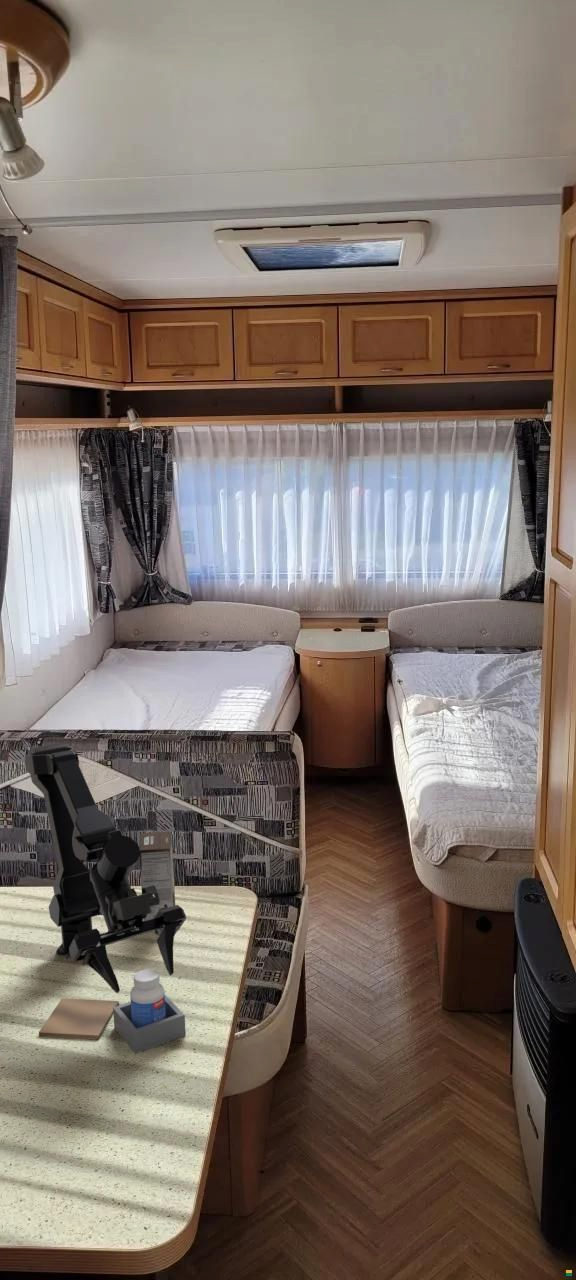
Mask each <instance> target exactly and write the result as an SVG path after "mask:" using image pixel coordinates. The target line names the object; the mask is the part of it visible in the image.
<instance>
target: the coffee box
mask: <svg viewBox="0 0 576 1280" xmlns="http://www.w3.org/2000/svg"><path fill="white" fill-rule="evenodd" d="M138 843H139V844H138V846H139V849H140V855H139V869H140V882H141V883H140V884H141V889H142V888H145V887H149V886H152V885H155V887H156V890H157V892H158V895H159V899H160V903H159V904H158V905H154V906H151V913H149V914H147V916H146V918H144V919H143V922H144V921H147V920H151V919H154V918H155V916H156V914H157V913H158V911H159V910H161V909H165V908H168V907H171V906H175V905H176V894H175V893H176V891H175V875H174V874H175V873H174V857H173V843H172V831H163V832H161V831H151V832H142V833H139V842H138Z"/></svg>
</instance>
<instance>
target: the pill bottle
mask: <svg viewBox="0 0 576 1280" xmlns="http://www.w3.org/2000/svg"><path fill="white" fill-rule="evenodd" d="M164 988H165V987H164V986H163V985H162V983H161V982H160V974H159V971H158V970H156V969H152V968H145V969H140V970H138V971H136V972H135V973H134V975H133V987H132V988H131V989H130V994H129V995H130V1002H131V1015H132V1024H133V1025H134V1026H135V1027H136V1029H138V1028H140V1027H143V1026H146V1025H149V1024H152V1023H154V1022H157V1021H160V1020H163V1019H166V1012H165V995H166V994H165V989H164ZM164 994H165V995H164Z"/></svg>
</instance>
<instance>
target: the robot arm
mask: <svg viewBox="0 0 576 1280" xmlns="http://www.w3.org/2000/svg"><path fill="white" fill-rule="evenodd" d="M24 764H25V769H26V771H27V773H28V774H29V775H30V779H31V782H32V784H33V785H34V786H35V787H36V788H37V789H38V790H39V791H40V792H41V793H42V794H43V799H44V803H45V809H46V812H47V819H48V824H49V829H50V832H51V837H52V842H53V847H54V853H55V858H56V862H57V868H58V872H57V874H56V876H55V880H54V883H53V885H52V886H53V887H52V888H53V893H54V895H53V896H52V898H51V901H50V902H49V905H48V910H49V911H48V912H49V917H50V919H51V920H52V922H53V923H54V924H55V925H56V926H57V927H58V928H60V930H61V931H60V932H61V944H60V945H59V947H58V948H57V949H56V951H55V953H56V954H55V955H63V954H64V955H65V954H67V956H70V958H71V962H72V963H73V964H75V963H79V962H80V963H81V965H82V966H86V965H87V966H88V967H90V968H91V969H92V970H94V972H96V973H97V974H98V975H99V976H100V977H101V978H102V979H103V980H104V981H105V982H106V984H107V985H108V986H109V987H110V988H111V989H112V990H113V991H114V992H115V993H116V994H118V993H119V992H120V991H121V989H120V988H121V987H120V986H119V982H118V979H117V976H116V974H115V972H114V968H113V966H112V964H111V962H110V959H109V957H108V953H107V952H108V951H107V947H106V946H109V945H111V944H114V943H115V944H116V943H118V942H121V941H124V940H129V939H131V938H135V937H138V936H142V935H145V934H149V933H152V932H154V934H156V935H157V936H158V937H157V938H156V944H157V946H158V949H159V953H160V955H161V957H162V961H163V964H164V966H165V969H166V970H167V973H168V974H169V976H173V974H174V973H175V972H174V940H175V935H176V934H177V933H178V931H179V930H180V929H181V927H182V926H183V925H184V923H185V922H186V920H187V916H186V913H185V909H184V908H182V907H181V906H180V905H178V904H175V906H171V907H168V908H165V909H161V910H159V911H158V913H157V914H156V916H155V918H154V919H151V920H147V921H144V918H146V916H147V914H149V913H151V906H154V905H158V904H159V903H160V899H159V895H158V892H157V890H156V887H155V885H152V886H149V887H145V888H142V887H141V894H139V895H138V893H137V891H136V890H135V888H132V886H131V884H130V881H129V877H130V876H131V873H132V872H133V870H134V867H135V866H136V864H137V862H138V860H139V859H140V856H139V855H140V849H139V844H138V843H137V842H136V841H135V840H134V839H133V838H131V837H130V836H127V835H124V834H123V833H122V831H121V829H119V828H117V827H116V826H115V824H114V822H113V821H112V818H111V816H110V815H108V814H107V813H105V812H103V811H102V810H100V809H99V808H98V806H97V804H96V801H95V799H94V796H93V795H92V793H91V789H90V788H89V785H88V783H87V781H86V779H85V776H84V774H83V772H82V769H81V767H80V759H79V755H78V752H77V751H76V748H75V747H73V746H66V744H65V743H64V742H57V743H51V744H46V745H45V744H44V745H42V746H35V747H30V749H29V753H28V754H25V757H24ZM93 861H94V862H95V861H97V862H95V863H94V864H93V865H92V868H91V870H90V869H89V868H88V867H87V866H86V865H85V864H84V863H86V864H87V863H89V862H93ZM97 916H103V919H104V922H105V924H106V927H107V932H103V933H100V931H99V930H98V928H93V921H92V918H94V917H97Z"/></svg>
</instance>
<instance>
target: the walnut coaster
mask: <svg viewBox="0 0 576 1280" xmlns="http://www.w3.org/2000/svg"><path fill="white" fill-rule="evenodd" d="M119 1005H120V1001H119V1000H103V999H83V998H82V999H81V998H62V997H61V998H60V1001H59V1002H58V1003H57V1005H56V1006H55V1008H54V1010H52V1013H51V1014H50V1015H49V1016H48V1018H47V1020H46V1021H45V1022H44V1024H43V1025H42V1027H41V1028H40V1029H39V1031H38V1036H39V1037H40V1036H41V1037H53V1038H54V1037H57V1038H74V1039H75V1038H77V1039H89V1040H90V1039H91V1040H92V1039H95V1040H99V1039H100V1038H101V1037H102V1035H103V1033H104V1032H105V1030H106V1027H108V1024H109V1022H110V1020H111V1019H112V1017H113V1016H114V1015H113V1007H116V1006H119Z"/></svg>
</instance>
